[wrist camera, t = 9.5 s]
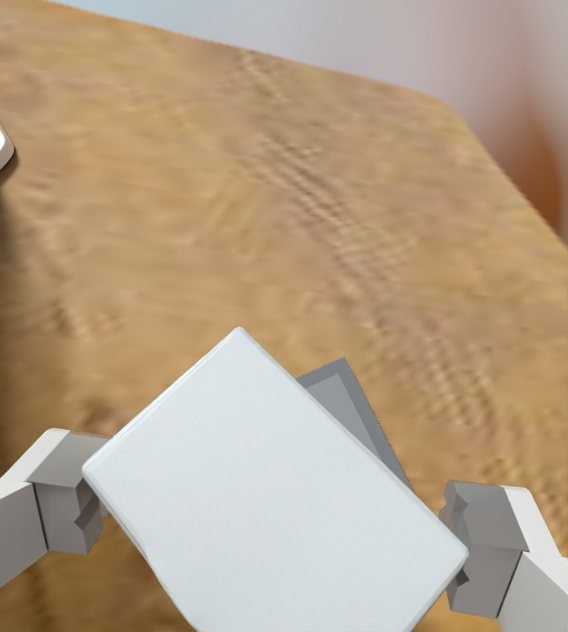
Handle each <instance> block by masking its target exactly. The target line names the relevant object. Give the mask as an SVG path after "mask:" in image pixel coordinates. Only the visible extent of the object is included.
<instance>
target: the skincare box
mask: <svg viewBox="0 0 568 632" xmlns="http://www.w3.org/2000/svg"><path fill="white" fill-rule="evenodd" d="M82 474H83V477H84V479H85V480H86V482H87V483H88V484H89V486H90V487H91V488H92V490H93V491H94V492H95V494H96V495H97V496H98V498H99V499H100V500H101V502H102V503H103V504H104V505H105V507H106V508H107V509H108V511H109V512H110V513H111V515H112V516H113V517H114V518H115V520H116V521H117V522H118V524H119V525H120V526H121V528H122V529H123V531H124V532H125V533H126V535H127V536H128V537H129V539H130V540H131V541H132V542H133V544H134V545H135V546H136V548H137V549H138V550H139V552H140V553H141V554H142V556H143V557H144V558H145V560H146V561H147V563H148V564H149V566H150V567H151V569H152V570H153V572H154V573H155V575H156V577H157V579H158V580H159V582H160V584H161V585H162V587H163V589H164V590H165V592H166V593H167V595H168V596H169V598H170V599H171V600H172V602H173V603H174V605H175V606H176V607H177V609H178V610H179V611H180V613H181V614H182V615H183V617H184V618H185V619H186V621H187V622H188V623H189V624H190V625H191V626H192V627H193V628H194V629H195V630H196V631H197V632H413V630H414V629H415V628H416V626H417V625H418V624H419V623H420V621H421V620H422V619H423V617H424V616H425V615H426V614H427V612H428V611H429V610H430V608H431V607H432V606H433V605H434V603H435V602H436V601H437V599H438V598H439V597H440V596H441V594H442V593H443V592H444V591H445V589H446V588H447V587H448V585H449V584H450V583H451V582H452V580H453V579H454V578H455V577H456V575H457V574H458V573H459V571H460V570H461V569H462V568H463V566H464V565H465V564H466V562H467V561H468V559H469V558H470V552H469V550H468V548H467V547H466V546H465V545H464V544H463V543H462V542H461V541H460V540H459V539H458V538H457V537H456V536H455V535H454V534H453V533H452V532H451V531H450V530H449V529H448V528H447V527H446V526H445V525H444V524H443V523H442V522H441V521H440V520H439V519H438V518H437V517H436V516H435V515H434V514H433V512H432V511H431V510H430V509H429V508H428V507H427V506H426V505H425V504H424V503H423V502H422V501H421V500H420V499H419V498H418V497H417V496H416V495H415V494H414V493H413V492H412V491H411V490H410V489H409V488H408V487H407V486H406V485H405V484H404V483H403V482H402V481H401V480H400V479H399V478H398V477H397V476H396V475H395V474H394V473H393V472H392V471H391V470H390V469H389V468H388V467H387V466H386V465H385V464H384V463H383V462H382V461H381V460H380V459H379V458H378V457H377V456H375V455H374V454H373V453H372V452H371V451H370V450H369V449H368V448H367V447H366V446H365V445H363V444H362V443H361V442H360V441H359V440H358V439H357V438H356V437H355V436H354V435H353V434H351V433H350V432H349V431H348V430H347V429H346V428H345V427H344V426H343V425H342V424H341V423H340V422H339V421H338V420H337V419H335V418H334V417H333V416H332V415H331V414H330V413H329V412H328V411H327V410H326V409H325V408H324V407H323V406H322V405H321V404H320V403H319V402H318V401H317V400H316V399H315V398H314V397H313V396H312V395H311V394H310V393H309V392H308V391H307V390H306V389H305V388H304V387H303V386H301V385H300V384H299V383H298V382H297V381H296V380H295V379H294V378H293V377H292V376H291V375H290V374H289V373H288V372H287V371H286V370H285V369H284V368H283V367H282V366H281V365H280V364H279V363H278V362H277V361H276V360H275V359H274V358H273V357H272V356H271V355H270V354H268V353H267V352H266V351H265V350H264V349H263V348H262V347H261V346H260V345H259V344H258V343H257V342H256V341H255V340H254V339H253V338H252V337H251V336H250V335H249V334H248V333H247V332H246V331H245V330H244V329H243V328H242V327H237V328H235V329H234V330H233V331H232V332H231V333H230V334H229V335H228V336H227V337H226V338H224V339H223V340H222V341H221V342H220V343H219V344H218V345H216V346H215V347H214V348H213V349H212V350H211V351H210V352H208V353H207V354H206V355H205V356H204V357H203V358H202V359H201V360H199V361H198V362H197V363H196V364H195V365H194V366H193V367H191V368H190V369H189V370H188V371H187V372H186V373H185V374H184V375H182V376H181V377H180V378H179V379H178V380H177V381H176V382H175V383H173V384H172V385H171V386H170V387H169V388H168V389H167V390H166V391H164V392H163V393H162V394H161V395H160V396H159V397H158V398H157V399H155V400H154V401H153V402H152V403H151V404H150V405H149V406H147V407H146V408H145V409H144V410H143V411H142V412H141V413H139V414H138V415H137V416H136V417H135V418H134V419H133V420H132V421H130V422H129V423H128V424H127V425H126V426H125V427H124V428H123V429H122V430H120V431H119V432H118V433H117V434H116V435H115V436H114V437H113V438H111V439H110V440H109V441H108V442H107V443H106V444H105V445H104V446H103V447H101V448H100V449H99V450H98V451H97V452H96V453H95V454H94V455H93V456H91V457H90V458H89V459H88V460H87V461H86V462H85V463H84V464H83V466H82Z"/></svg>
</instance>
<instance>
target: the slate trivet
mask: <svg viewBox="0 0 568 632" xmlns="http://www.w3.org/2000/svg"><path fill="white" fill-rule="evenodd" d="M295 380H296V381H297V382H298V383H299V384H300V385H301V386H303V387H304V388H305V389H306V390H307V391H308V392H309V393H310V394H311V395H312V396H313V397H314V398H315V399H316V400H317V401H318V402H319V403H320V404H321V405H322V406H323V407H324V408H325V409H326V410H327V411H328V412H329V413H330V414H331V415H332V416H333V417H334V418H335V419H337V420H338V421H339V422H340V423H341V424H342V425H343V426H344V427H345V428H346V429H347V430H348V431H349V432H350V433H351V434H353V435H354V436H355V437H356V438H357V439H358V440H359V441H360V442H361V443H362V444H363V445H365V446H366V447H367V448H368V449H369V450H370V451H371V452H372V453H373V454H374V455H375V456H377V457H378V458H379V459H380V460H381V461H382V462H383V463H384V464H385V465H386V466H387V467H388V468H389V469H390V470H391V471H392V472H393V473H394V474H395V475H396V476H397V477H398V478H399V479H400V480H401V481H402V482H403V483H404V484H405V485H406V486H407V487H408V488H409V489H410V490H411V491H412V492H413V490H412V488H411V486H410V484H409V482H408V480H407V478H406V476H405V474H404V472H403V470H402V469H401V467H400V465H399V463H398V461H397V459H396V457H395V455H394V453H393V451H392V449H391V447H390V445H389V443H388V441H387V439H386V437H385V435H384V433H383V431H382V430H381V428H380V426H379V424H378V422H377V420H376V418H375V416H374V414H373V412H372V410H371V408H370V406H369V404H368V402H367V400H366V398H365V396H364V394H363V392H362V391H361V389H360V387H359V385H358V383H357V381H356V379H355V377H354V375H353V373H352V371H351V369H350V367H349V365H348V363H347V361H346V359H345V357H343V358H341V359H338V360H336V361H334V362H332V363H329V364H327V365H325V366H323V367H321V368H318V369H316V370H314V371H312V372H309V373H307V374H305V375H303V376H301V377H298V378H296V379H295ZM413 493H414V492H413Z"/></svg>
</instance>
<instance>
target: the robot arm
mask: <svg viewBox="0 0 568 632" xmlns="http://www.w3.org/2000/svg"><path fill="white" fill-rule="evenodd" d="M13 152H14V146H13V144H12V142H11V140H10V139H9V137H8V135H7V134H6V132H5V130H4V129H3V127H2V126H1V124H0V169H1V168H2V167H3V166H4V165H5V164H6V163H7V162H8V161H9V159H10V158H11V157H12V155H13ZM111 438H113V436H107V435H100V434H94V433H87V432H80V431H71V430H64V429H58V428H51V429H49V430H46V431H45V432H44V433H43V434H42V435H41V436H40V437H39V439H38V440H37V441H36V442H35V443H34V444H33V445H32V446H31V447H30V448H29V449H28V450H27V451H26V452H25V453H24V454H23V455H22V456H21V457H20V458H19V460H18V461H17V462H16V463H15V464H14V465H13V466H12V467H11V468H10V469H9V470H8V471H7V472H6V473H5V474H4V475H3V476H2V477H1V478H0V588H1V587H2V586H4V585H5V584H6V583H8V582H9V581H10V580H12V579H13V578H14V577H16V576H17V575H18V574H20V573H21V572H22V571H24V570H25V569H26V568H28V567H29V566H30V565H32V564H33V563H34V562H36V561H37V560H38V559H40V558H41V557H42V556H44V555H45V554H46V553H47V550H49V551H57V552H65V553H73V554H81V555H88V553H89V552H90V550H91V548H92V547H93V545H94V543H95V541H96V540H97V538H98V536H99V535H100V533H101V531H102V530H103V523H102V518H103V517H105V516H107V515H108V514H110V512H109V511H108V509H107V508H106V507H105V505H104V504H103V503H102V502H101V500H100V499H99V498H98V496H97V495H96V494H95V492H94V491H93V490H92V488H91V487H90V486H89V484H88V483H87V482H86V480H85V479H84V477H83V474H82V466H83V464H84V463H85V462H86V461H87V460H88V459H89V458H90V457H91V456H93V455H94V454H95V453H96V452H97V451H98V450H99V449H100V448H101V447H103V446H104V445H105V444H106V443H107V442H108V441H109V440H110V439H111ZM444 496H445V500H446V504H447V505H446V506H444V507H443V508H442V509H440V511H439V516H438V519H439V520H440V521H441V522H442V523H443V524H444V525H445V526H446V527H447V528H448V529H449V530H450V531H451V532H452V533H453V534H454V535H455V536H456V537H457V538H458V539H459V540H460V541H461V542H462V543H463V544H464V545H465V546H466V547H467V548H468V550H469V552H470V558H469V559H468V561H467V562H466V564H465V565H464V566H463V568H462V569H461V570H460V571H459V573H458V574H457V575H456V577H455V578H454V579H453V580H452V582H451V583H450V584H449V585H448V587H447V588H446V591H447V596H448V601H449V605H450V610H451V611H453V612H459V613H464V614H470V615H475V616H481V617H486V618H492V619H497V623H498V624H499V626H500V627H501V628H502V630H503V631H504V632H568V558H564V557H562V556H561V554H560V552H559V550H558V548H557V546H556V544H555V541H554V539H553V537H552V535H551V533H550V531H549V529H548V527H547V525H546V523H545V521H544V519H543V517H542V515H541V513H540V511H539V509H538V507H537V505H536V503H535V501H534V499H533V497H532V495H531V493H530V491H529V490H527V489H526V488H522V487H512V486H503V485H500V486H498V485H491V484H483V483H475V482H466V481H458V480H449V481H448V483H447V484H446V488H445V492H444Z"/></svg>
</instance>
